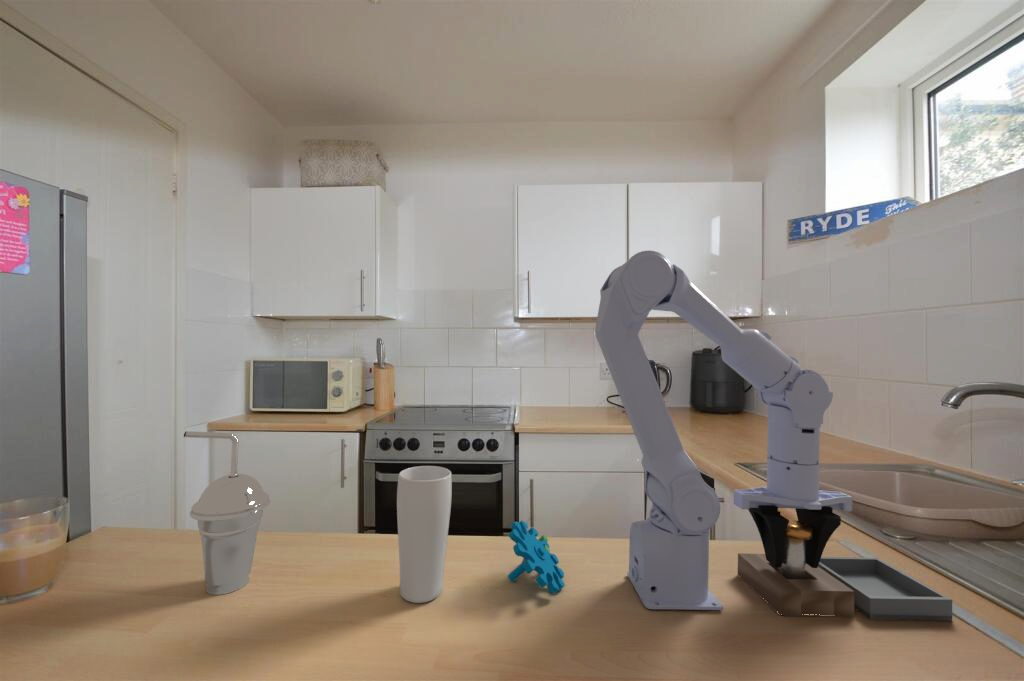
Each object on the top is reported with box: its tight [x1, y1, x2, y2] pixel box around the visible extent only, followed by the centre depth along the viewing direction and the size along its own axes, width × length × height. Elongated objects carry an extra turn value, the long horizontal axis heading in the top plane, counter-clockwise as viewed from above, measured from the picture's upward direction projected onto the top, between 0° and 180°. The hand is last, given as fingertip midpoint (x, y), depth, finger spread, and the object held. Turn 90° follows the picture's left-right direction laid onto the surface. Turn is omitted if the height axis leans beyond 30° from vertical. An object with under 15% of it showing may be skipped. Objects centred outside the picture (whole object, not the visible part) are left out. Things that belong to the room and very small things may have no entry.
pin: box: [778, 518, 813, 579], centre depth 54 cm, size 4×4×9 cm
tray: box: [818, 556, 953, 622], centre depth 54 cm, size 10×10×2 cm
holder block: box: [737, 553, 855, 618], centre depth 54 cm, size 9×9×3 cm
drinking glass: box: [396, 465, 453, 604], centre depth 52 cm, size 7×7×15 cm
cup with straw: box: [183, 430, 271, 596], centre depth 53 cm, size 8×9×20 cm
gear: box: [507, 520, 566, 595], centre depth 56 cm, size 11×6×10 cm
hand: (791, 563), depth 54 cm, fingers closed on pin, 4 cm apart
